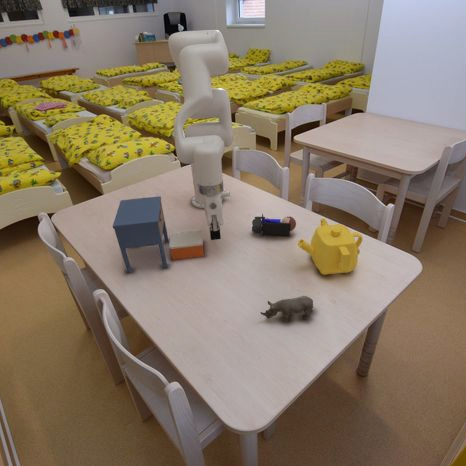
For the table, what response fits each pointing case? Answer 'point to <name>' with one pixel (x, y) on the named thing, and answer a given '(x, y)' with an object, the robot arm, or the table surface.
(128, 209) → the drawer unit
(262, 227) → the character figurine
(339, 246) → the teapot
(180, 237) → the storage box
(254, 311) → the table surface
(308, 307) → the rhino figurine
